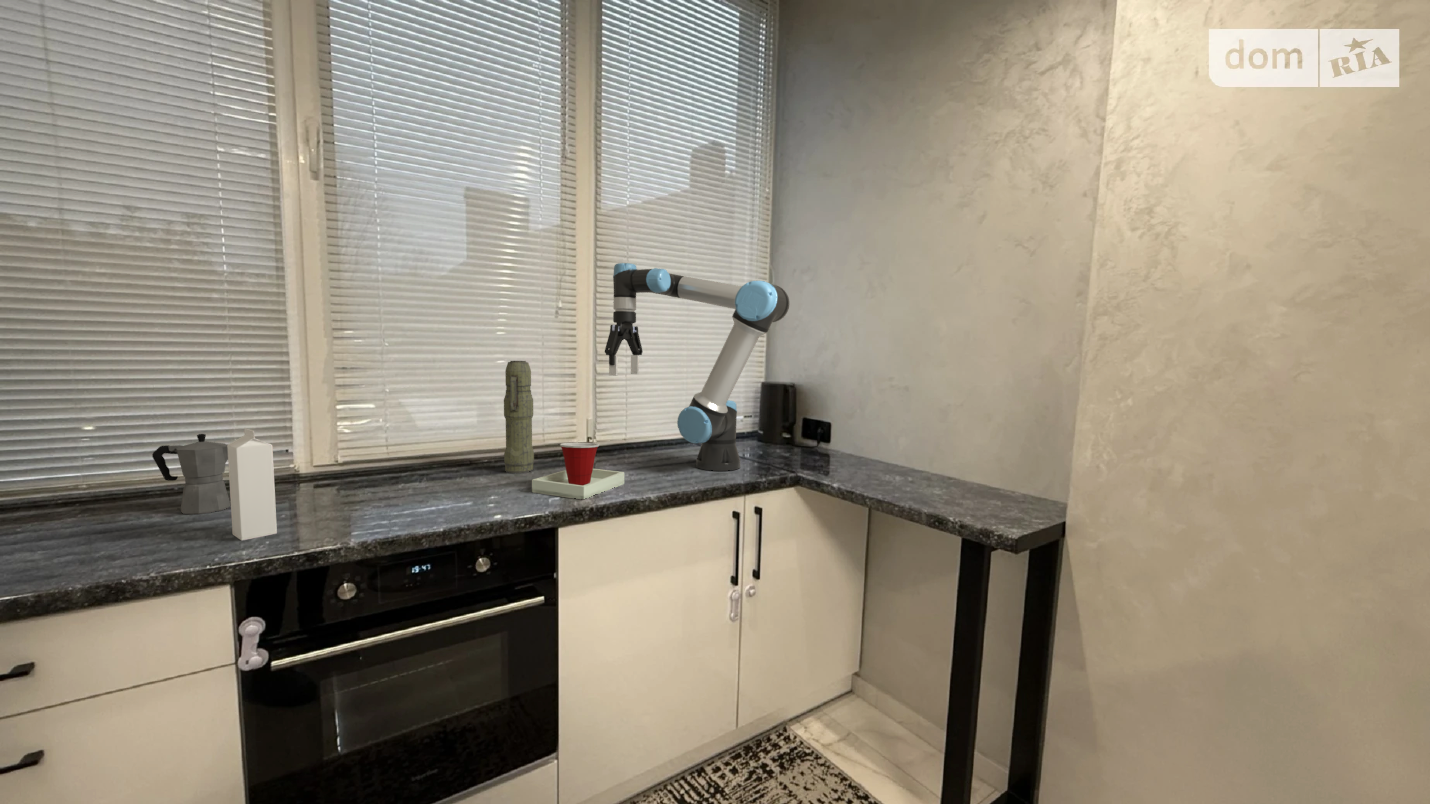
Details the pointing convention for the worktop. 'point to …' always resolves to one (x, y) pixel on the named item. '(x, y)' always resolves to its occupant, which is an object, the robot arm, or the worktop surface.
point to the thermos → (518, 418)
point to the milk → (251, 487)
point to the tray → (560, 486)
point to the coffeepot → (198, 474)
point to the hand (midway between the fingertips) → (624, 374)
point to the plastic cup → (579, 461)
